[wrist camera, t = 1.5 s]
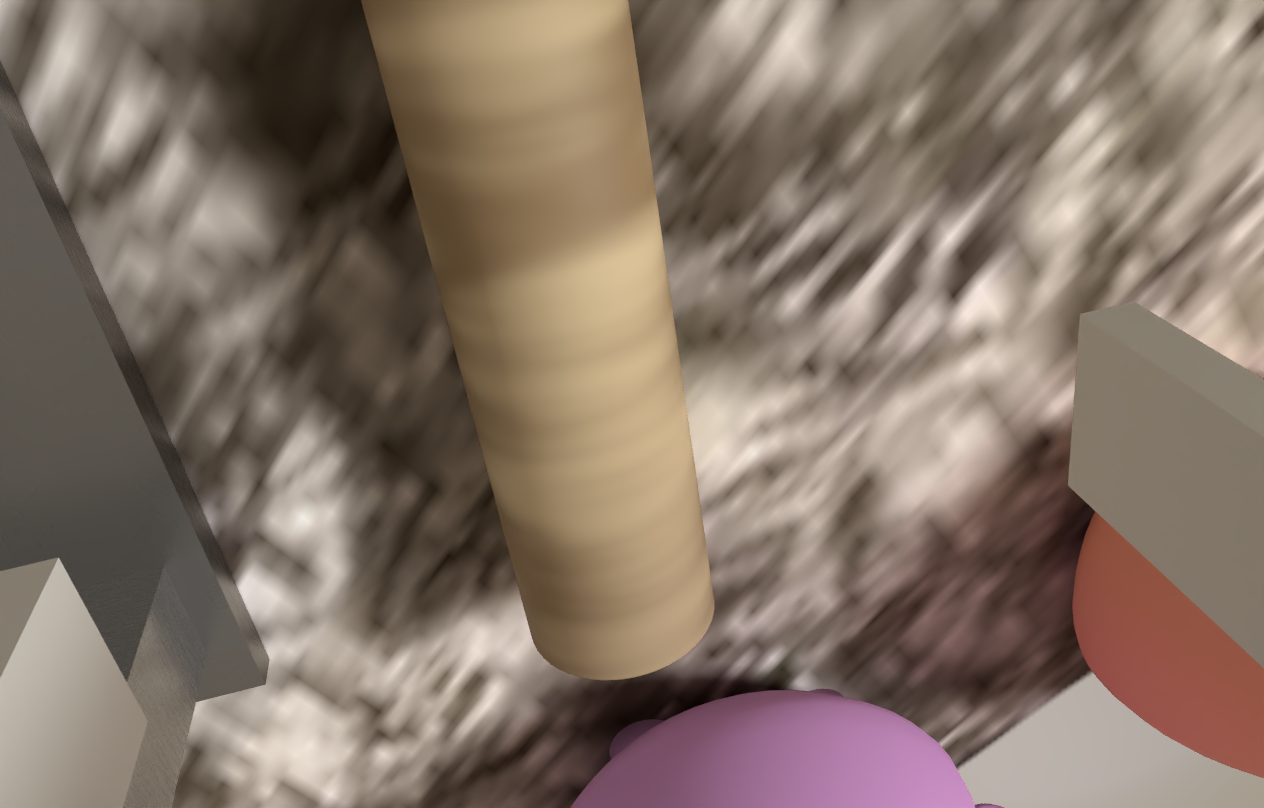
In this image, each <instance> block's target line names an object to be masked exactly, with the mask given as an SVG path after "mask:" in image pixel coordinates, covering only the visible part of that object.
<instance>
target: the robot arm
mask: <svg viewBox="0 0 1264 808" xmlns="http://www.w3.org/2000/svg"><path fill="white" fill-rule="evenodd" d="M1068 486H1069V487H1070V488H1071V489H1072V490H1073V491H1074V492H1075V493H1076V494H1077V495H1079V496H1080V497H1081V498H1082V499H1083V500H1084V501H1085V502H1086V503H1087V504H1088V505H1089V506H1090V507H1091V508H1092V509H1094V510H1095V511H1096V512H1097V513H1098V514H1099V515H1100V516H1101V517H1102V518H1103V519H1104V520H1105V521H1106V522H1108V523H1109V524H1110V525H1111V526H1112V527H1113V528H1114V529H1115V530H1116V531H1117V532H1118V533H1119V534H1120V535H1121V536H1123V537H1124V538H1125V539H1126V540H1127V541H1128V542H1129V543H1130V544H1131V545H1132V546H1133V547H1134V548H1135V549H1136V550H1138V551H1139V552H1140V553H1141V554H1142V555H1143V556H1144V557H1145V558H1146V559H1147V560H1148V561H1149V562H1150V563H1151V564H1153V565H1154V566H1155V567H1156V568H1157V569H1158V570H1159V571H1160V572H1161V573H1162V574H1163V575H1164V576H1165V577H1166V578H1168V579H1169V580H1170V581H1171V582H1172V583H1173V584H1174V585H1175V586H1176V587H1177V588H1178V589H1179V590H1180V591H1181V592H1183V593H1184V594H1185V595H1186V596H1187V597H1188V598H1189V599H1190V600H1191V601H1192V602H1193V603H1194V604H1195V605H1196V606H1198V607H1199V608H1200V609H1201V610H1202V611H1203V612H1204V613H1205V614H1206V615H1207V616H1208V617H1209V618H1210V619H1211V620H1213V621H1214V622H1215V623H1216V624H1217V625H1218V626H1219V627H1220V628H1221V629H1222V630H1223V631H1224V632H1225V633H1226V634H1228V635H1229V636H1230V637H1231V638H1232V639H1233V640H1234V641H1235V642H1236V643H1237V644H1238V645H1239V646H1240V647H1241V648H1243V649H1244V650H1245V651H1246V652H1247V653H1248V654H1249V655H1250V656H1251V657H1252V658H1253V659H1254V660H1255V661H1256V662H1258V663H1259V664H1260V665H1261V666H1262V667H1263V668H1264V380H1263V379H1262V378H1260V377H1258V376H1257V375H1255V374H1253V373H1252V372H1250V371H1248V370H1247V369H1245V368H1243V367H1242V366H1240V365H1238V364H1237V363H1235V362H1233V361H1232V360H1230V359H1228V358H1227V357H1225V356H1223V355H1222V354H1220V353H1218V352H1217V351H1215V350H1213V349H1212V348H1210V347H1208V346H1207V345H1205V344H1203V343H1202V342H1200V341H1198V340H1197V339H1195V338H1193V337H1192V336H1190V335H1188V334H1187V333H1185V332H1183V331H1182V330H1180V329H1178V328H1177V327H1175V326H1173V325H1172V324H1170V323H1168V322H1167V321H1165V320H1163V319H1162V318H1160V317H1158V316H1157V315H1155V314H1153V313H1152V312H1150V311H1148V310H1147V309H1145V308H1143V307H1142V306H1140V305H1138V304H1137V303H1135V302H1129V303H1125V304H1121V305H1117V306H1113V307H1108V308H1104V309H1100V310H1096V311H1092V312H1087V313H1083V314H1080V322H1079V336H1078V350H1077V365H1076V379H1075V393H1074V407H1073V421H1072V435H1071V449H1070V463H1069V477H1068ZM147 722H148V721H147V719H146V717H145V715H144V713H143V711H142V710H141V708H140V706H139V704H138V702H137V700H136V699H135V697H134V695H133V693H132V691H131V689H130V687H129V686H128V684H127V682H126V680H125V678H124V676H123V675H122V673H121V671H120V669H119V667H118V665H117V664H116V662H115V660H114V658H113V656H112V654H111V653H110V651H109V649H108V647H107V645H106V643H105V642H104V640H103V638H102V636H101V634H100V632H99V631H98V629H97V627H96V625H95V623H94V621H93V620H92V618H91V616H90V614H89V612H88V610H87V608H86V607H85V605H84V603H83V601H82V599H81V597H80V596H79V594H78V592H77V590H76V588H75V586H74V585H73V583H72V581H71V579H70V577H69V575H68V574H67V572H66V570H65V568H64V566H63V564H62V563H61V561H60V559H59V557H58V558H54V559H50V560H45V561H41V562H37V563H33V564H29V565H24V566H20V567H16V568H12V569H8V570H3V571H0V808H123V805H124V802H125V799H126V795H127V792H128V788H129V785H130V781H131V778H132V774H133V771H134V767H135V764H136V760H137V757H138V753H139V750H140V746H141V743H142V740H143V736H144V733H145V729H146V726H147Z"/></svg>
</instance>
